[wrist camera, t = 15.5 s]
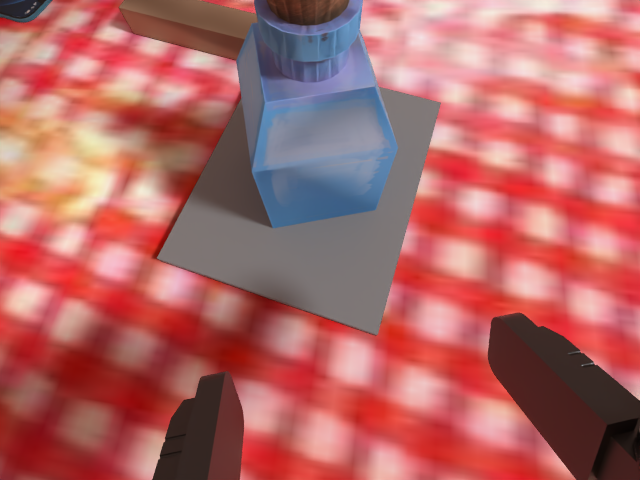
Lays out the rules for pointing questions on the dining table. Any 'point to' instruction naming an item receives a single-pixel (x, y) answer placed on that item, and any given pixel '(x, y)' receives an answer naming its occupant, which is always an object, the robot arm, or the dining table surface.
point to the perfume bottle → (313, 111)
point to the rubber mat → (303, 228)
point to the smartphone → (22, 9)
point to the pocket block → (190, 24)
